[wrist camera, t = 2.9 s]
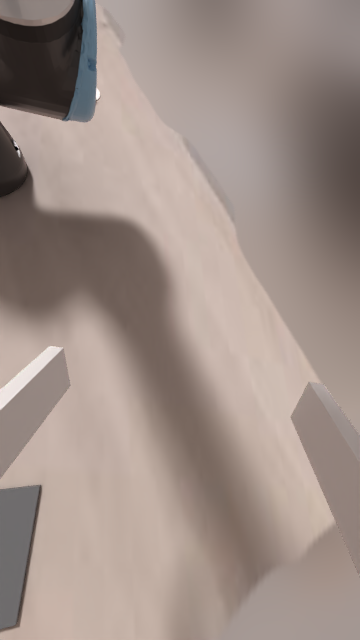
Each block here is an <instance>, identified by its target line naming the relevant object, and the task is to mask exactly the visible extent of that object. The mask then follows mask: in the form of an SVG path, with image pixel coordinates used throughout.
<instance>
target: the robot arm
mask: <svg viewBox="0 0 360 640" xmlns="http://www.w3.org/2000/svg"><path fill="white" fill-rule="evenodd" d="M96 56H97V26H96V6H95V0H0V106H3V107H8V108H12V109H16V110H21V111H25V112H29V113H34V114H38V115H43V116H47V117H51V118H56V119H60V120H62V121H68V120H71V121H78V122H88V121H90V120H91V119H92V118H93V116H94V112H95V104H96V84H97V71H96V63H97V61H96ZM26 176H27V165H26V162H25V160H24V157H23V154H22V152H21V150H20V148H19V146H18V145H17V143H16V142H15V141H14V140H13V138H12V137H11V135H10V134H9V133H8V131H7V130H6V129H5V127H4V126H3V125H2V123H1V122H0V197H1V196H4V195H6V194H9V193H11V192H13V191H14V190H16V189H17V188H18V187H19V186H21V184H22V183H23V182H24V180H25V178H26ZM69 387H70V380H69V375H68V369H67V364H66V359H65V354H64V349H63V348H61V347H53V346H49V347H48V348H47V349H46V350H45V351H43V352H42V353H41V354H40V355H39V356H38V357H37V358H36V359H34V360H33V361H32V362H31V363H30V364H29V365H28V366H26V367H25V368H24V369H23V370H22V371H21V372H20V373H19V374H17V375H16V376H15V377H14V378H13V379H12V380H11V381H10V382H8V383H7V384H6V385H5V386H4V387H3V388H2V389H1V390H0V479H1V477H2V476H3V475H4V473H5V472H6V471H7V469H8V468H9V467H10V465H11V464H12V463H13V461H14V460H15V459H16V457H17V456H18V455H19V453H20V452H21V451H22V449H23V448H24V447H25V445H26V444H27V443H28V441H29V440H30V439H31V437H32V436H33V435H34V433H35V432H36V431H37V429H38V428H39V427H40V425H41V424H42V423H43V421H44V420H45V419H46V417H47V416H48V415H49V413H50V412H51V411H52V409H53V408H54V407H55V405H56V404H57V403H58V401H59V400H60V399H61V397H62V396H63V395H64V393H65V392H66V391H67V389H68V388H69ZM291 420H292V422H293V424H294V427H295V429H296V431H297V433H298V436H299V438H300V440H301V443H302V445H303V447H304V450H305V452H306V454H307V457H308V459H309V461H310V463H311V466H312V468H313V470H314V473H315V475H316V477H317V480H318V482H319V484H320V487H321V489H322V491H323V493H324V496H325V498H326V500H327V503H328V505H329V507H330V510H331V512H332V514H333V517H334V519H335V521H336V523H337V526H338V528H339V530H340V533H341V535H342V537H343V540H344V542H345V544H346V546H347V549H348V551H349V554H350V556H351V558H352V560H353V563H354V564H355V567H356V569H357V572H358V574H359V576H360V435H359V433H358V432H357V431H356V429H355V428H354V426H353V425H352V423H351V422H350V421H349V419H348V418H347V416H346V415H345V413H344V412H343V411H342V410H341V408H340V406H339V405H338V404H337V402H336V401H335V399H334V398H333V397H332V395H331V394H330V392H329V391H328V390H327V388H326V387H325V385H324V384H320V383H312V382H309V383H308V384H307V386H306V388H305V390H304V392H303V394H302V396H301V398H300V400H299V402H298V404H297V406H296V408H295V409H294V411H293V413H292V415H291Z"/></svg>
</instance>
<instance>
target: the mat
mask: <svg viewBox="0 0 360 640" xmlns="http://www.w3.org/2000/svg"><path fill="white" fill-rule="evenodd" d="M40 486H41V485H36V486H27V487H18V488H9V489H1V490H0V629H3V628H7V627H11V626H14V625H16V623H17V621H18V615H19V609H20V603H21V598H22V592H23V586H24V580H25V574H26V568H27V562H28V556H29V550H30V545H31V539H32V533H33V527H34V521H35V515H36V509H37V503H38V497H39V492H40Z"/></svg>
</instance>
